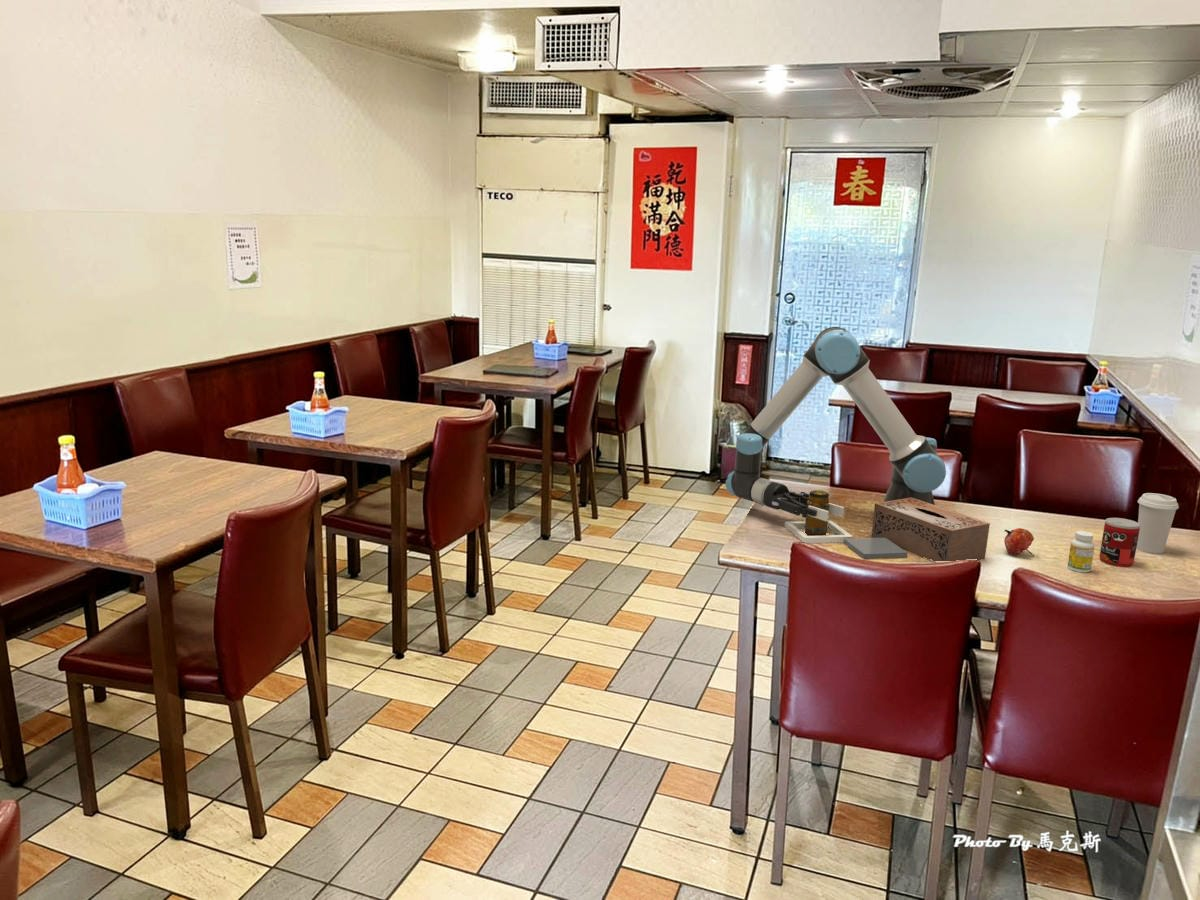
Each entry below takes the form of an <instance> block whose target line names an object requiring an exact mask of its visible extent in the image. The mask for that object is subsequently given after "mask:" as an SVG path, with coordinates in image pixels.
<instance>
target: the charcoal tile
mask: <svg viewBox="0 0 1200 900" xmlns="http://www.w3.org/2000/svg"><path fill="white" fill-rule="evenodd" d="M843 545H844V546H846V547H847V548H849V549H850V550H851V551H853V552H854V553H855V554H857V555H858V556H859V557H861V558H862V559H863V558H864V559H863V560H874V559H873V558H884V559H906V558H908V551H905V550H903V549H901V548H900V547H899V546H897V545H896V544H894V543H893V542H891V541H890V540H888V539H887V538H873V537H863V538H862V537H856V538H854V537H853V539H844V542H843Z"/></svg>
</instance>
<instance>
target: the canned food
mask: <svg viewBox="0 0 1200 900" xmlns="http://www.w3.org/2000/svg"><path fill="white" fill-rule="evenodd" d="M1139 531H1140V524H1139V523H1138V521H1135V520H1132V519H1127V518H1121V517H1108V518H1106V519H1105V521H1104V525H1103V532H1102V537H1101V543H1100V550H1099V560H1100V561H1101V562H1103V563H1105V564H1107V565H1110V566H1115V567H1121V568H1124V567H1125V568H1126V567H1132V566H1133V564H1134V562H1135V558H1136V553H1137V548H1136V547H1137V542H1138V537H1139Z"/></svg>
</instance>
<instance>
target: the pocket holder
mask: <svg viewBox="0 0 1200 900" xmlns="http://www.w3.org/2000/svg"><path fill="white" fill-rule="evenodd" d="M827 527H829V528H830V529H829V528H828V529H829V530H831V531H832V532H833V531H834V532H833V533H834V535H824V536H807V535H806V534H804V533H803V532H802V531H803V530H802V529H805V520H804V521H785V522H784V528H785V529H786V528H787V529H788V530H787V529H786V530H787V531H788V532H790V531H791V532H792V533H793V534H794V535H796V536H797V537H798V538H799V539H800V540H802V542H801V543H803V542H806V544H831V542H832V543H833V544H834V543H837V544H838V542H839V543H844V539H853V538H854V536H853V535H852V534H850V533H849V532H848V531H846V530H845V529H844V528H843V527H841V526H840V525H838V524H837V523H835V522H834V521H833V520H828V525H827ZM798 528H800V529H798ZM791 532H790V533H791ZM792 533H791V534H792ZM793 534H792V535H793ZM794 535H793V536H794ZM796 536H795V537H796ZM797 537H796V538H797ZM798 538H797V539H798ZM799 539H798V540H799ZM800 540H799V541H800Z"/></svg>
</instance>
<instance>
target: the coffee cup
mask: <svg viewBox="0 0 1200 900" xmlns="http://www.w3.org/2000/svg"><path fill="white" fill-rule="evenodd" d="M1137 503H1138V504H1139V505H1138V519H1137V523H1139V524H1140V531H1139V537H1138V542H1137V547H1136V550H1139V551H1140V552H1141V551H1142V552H1144V553H1148V554H1156V555H1159V554H1164V551H1165V548H1166V545H1167V541H1168V539H1169V535H1170V531H1171V529H1172V524H1173V521H1174V518H1175V514H1176V511H1177V510H1178V509H1179V508H1180V507H1179V503H1178V502H1177V499H1176V497H1173V496H1171V495H1167V494H1163V493H1153V492H1146V493H1143V494H1142V495H1141V496H1140V497H1139V498H1138V500H1137Z"/></svg>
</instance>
